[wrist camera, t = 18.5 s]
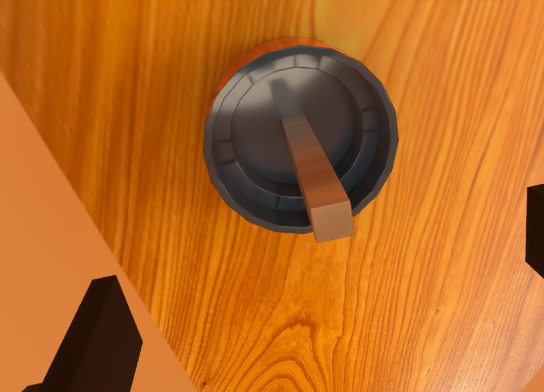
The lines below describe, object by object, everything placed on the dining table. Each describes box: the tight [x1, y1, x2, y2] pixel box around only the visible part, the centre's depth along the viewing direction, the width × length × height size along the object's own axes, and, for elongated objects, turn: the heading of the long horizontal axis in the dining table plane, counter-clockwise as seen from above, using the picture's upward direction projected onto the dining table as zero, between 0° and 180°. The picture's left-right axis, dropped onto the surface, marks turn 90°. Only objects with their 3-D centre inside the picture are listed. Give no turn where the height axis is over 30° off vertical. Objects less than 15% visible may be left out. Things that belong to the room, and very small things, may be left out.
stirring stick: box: [281, 113, 355, 243], centre depth 32 cm, size 2×2×18 cm
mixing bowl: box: [203, 37, 399, 234], centre depth 38 cm, size 14×14×6 cm
